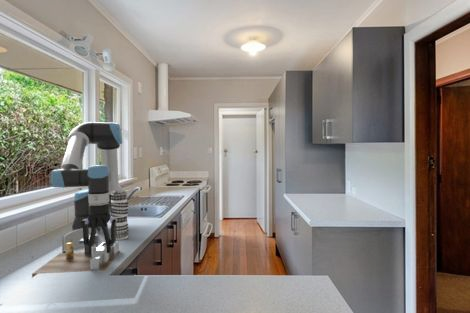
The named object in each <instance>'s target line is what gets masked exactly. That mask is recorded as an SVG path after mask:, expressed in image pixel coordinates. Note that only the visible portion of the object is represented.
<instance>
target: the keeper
mask: <svg viewBox="0 0 470 313" xmlns="http://www.w3.org/2000/svg"><path fill="white" fill-rule="evenodd" d="M89 240H90V235H89ZM94 242H95V243H94V244H96V248H97V247H98V246H99V243H98V234H96V235H95V240H94ZM83 243H84V241H83V238H82V239H81V240H80V241H79V244H83ZM83 248H84V252H85V254H90V253H89V246H88V245H84V247H83Z"/></svg>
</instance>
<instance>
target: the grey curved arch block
mask: <svg viewBox="0 0 470 313" xmlns="http://www.w3.org/2000/svg"><path fill="white" fill-rule="evenodd" d="M98 230H99V229H98ZM98 230H96V234H98V244H99V243H100V244H101V243H102V240H101V238H100V234H99V231H98ZM89 235H91V228H89ZM82 238H83V229H78V230H75V231H72V230H71V231H70V232H68V233H66V234H64V235H63V236H62V238H61V250H62V251H61V253H65V252H66V243H68V242H73V247H74V250H76V249H77V250H78V249H81V248H84V243H83V244H79V241H80V240H81V239H82Z"/></svg>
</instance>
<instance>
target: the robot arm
mask: <svg viewBox="0 0 470 313" xmlns="http://www.w3.org/2000/svg"><path fill="white" fill-rule="evenodd" d="M67 142H68V144H67V147H66V150H65V152H64V156H63V159H62V162H61V164H60V168H57V169H53V170H52V171H51V173H50V185H51V186H52V187H53V188H62V189H64V188H79V187H87V188H88V189H83V190H78V191H77V192H75V193H74V196H73V197H74V199H73V202H74V205H73V206H74V219H73V222H72V224H71V232H72V231H75V230H78V229H83V241H84V245H88V246H89V253H90V254H92V256H93V250H94V249H95V248H96V244H94V243H95V242H94V240H95V235H96V230H100V229H101V230H102V233H103V237H104V242H106V245H105V246H104V262H107V261H108V260H109V253H110V252H111V244H113V243H114V242H117V240H116V222H117V220H118V219H117V218H112V217H111V212H110V210H111V209H110V207H111V206H110V202H111V194H112V193H113V191H117V190H122V186H121V185H120V184H119V167H118V166H119V165H118V163H119V162H118V160H119V159H118V149H119V148H120V147H121V145H122V144H123V133H122V128H121V126H120V124H119V123H117V122H112V121H109V122H107V121H105V122H103V121H101V122H100V121H87V122H83V123H80V124H79V125H76V127H74V128H72V130H70V133H69V134H68V135H67ZM89 144H90V145H96V148H98V150H99V151H100V164H92V165H89V166H88V167H87V168H82V164H83V160H84V155H85V151H86V147H88V145H89ZM108 222H110V232H109V227H108V226H109V225H108ZM89 228H91V235H90V240H89Z"/></svg>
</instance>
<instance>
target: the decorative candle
mask: <svg viewBox="0 0 470 313" xmlns="http://www.w3.org/2000/svg"><path fill="white" fill-rule="evenodd" d="M127 194H128V192H126V191H125V190H124V189H121V190H117V191H113V193H112V194H111V202H110V206H111V207H110V209H111V210H110V216H111V217H112V218H117V219H118V220H117V222H116V241H122V240H126V239H127V238H129V223H128V215H129V214H128V213H129V212H128V211H129V208H128V207H129V205H128V204H129V202H128V198H127V197H128V196H127Z"/></svg>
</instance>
